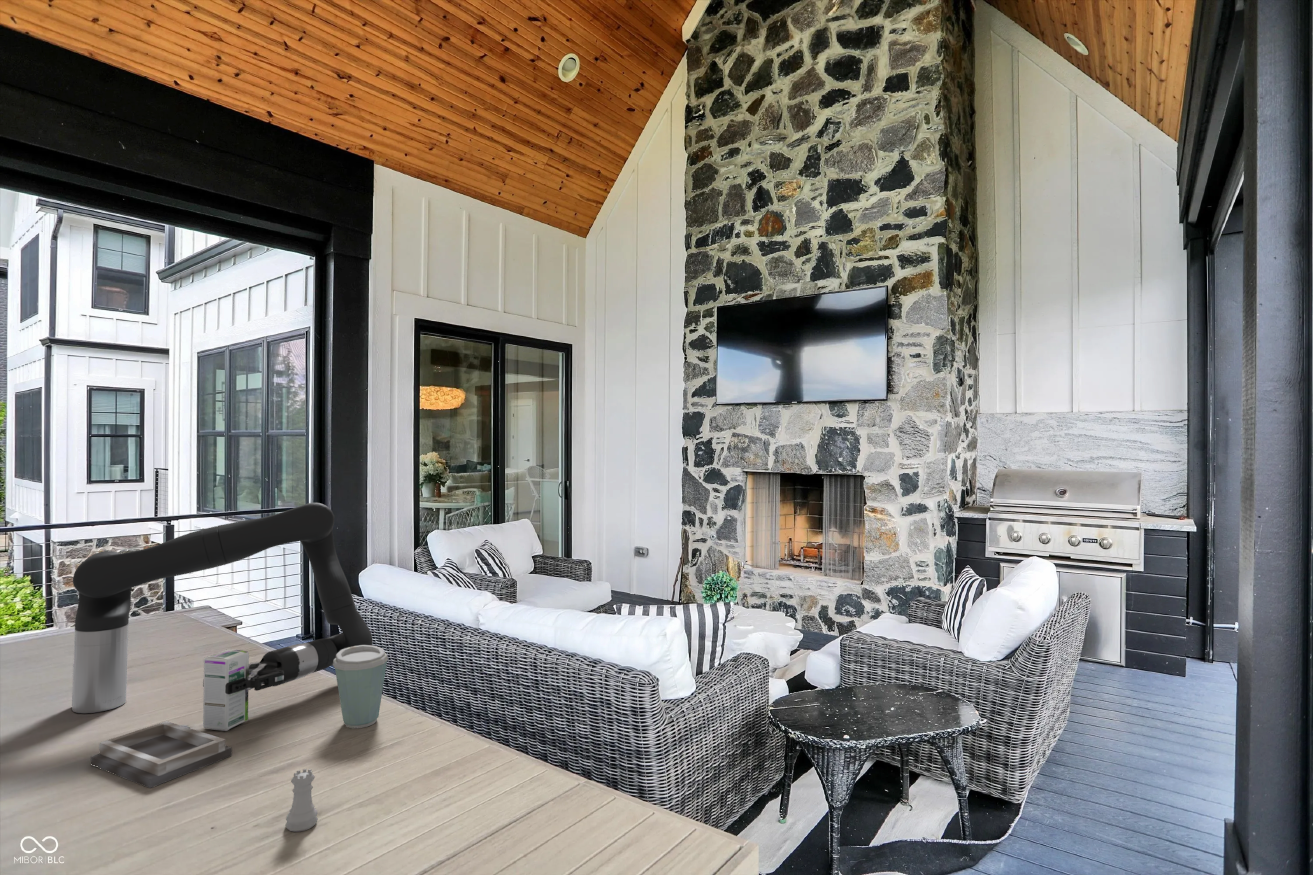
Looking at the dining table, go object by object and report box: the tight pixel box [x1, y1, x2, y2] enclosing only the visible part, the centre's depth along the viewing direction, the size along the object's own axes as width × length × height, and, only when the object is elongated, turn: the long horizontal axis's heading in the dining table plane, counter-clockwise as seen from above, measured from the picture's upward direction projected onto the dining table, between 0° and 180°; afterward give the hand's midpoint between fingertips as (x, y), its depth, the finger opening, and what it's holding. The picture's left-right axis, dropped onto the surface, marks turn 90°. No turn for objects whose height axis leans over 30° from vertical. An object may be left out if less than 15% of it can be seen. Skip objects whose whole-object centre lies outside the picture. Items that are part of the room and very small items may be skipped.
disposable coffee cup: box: [332, 645, 389, 729], centre depth 147 cm, size 11×11×15 cm
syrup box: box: [202, 649, 250, 732], centre depth 144 cm, size 6×6×14 cm
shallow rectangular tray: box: [90, 720, 233, 789], centre depth 128 cm, size 18×14×4 cm
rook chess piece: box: [285, 768, 319, 833], centre depth 107 cm, size 4×4×8 cm
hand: (215, 685), depth 142 cm, fingers closed on syrup box, 6 cm apart
